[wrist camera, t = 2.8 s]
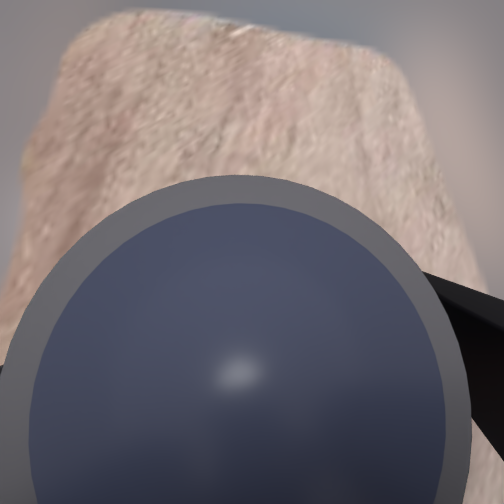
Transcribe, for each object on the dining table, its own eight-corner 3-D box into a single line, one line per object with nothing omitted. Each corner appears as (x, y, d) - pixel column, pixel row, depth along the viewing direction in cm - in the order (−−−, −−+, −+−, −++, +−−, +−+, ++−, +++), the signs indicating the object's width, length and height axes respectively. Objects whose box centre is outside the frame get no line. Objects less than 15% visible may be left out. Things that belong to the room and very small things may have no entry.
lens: (267, 424, 14) (467, 885, 2) (153, 383, 14) (-203, 638, 2) (301, 308, 16) (540, 238, 4) (197, 271, 16) (108, 85, 4)
